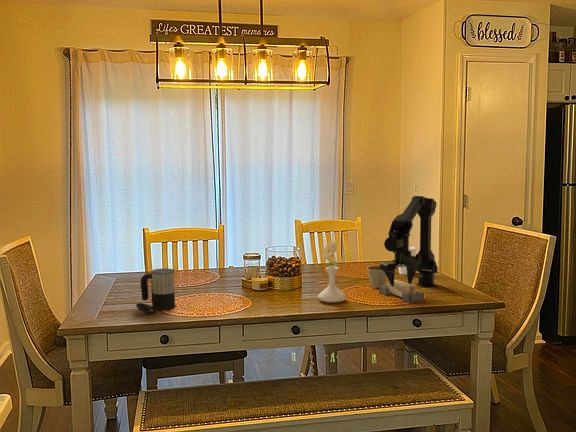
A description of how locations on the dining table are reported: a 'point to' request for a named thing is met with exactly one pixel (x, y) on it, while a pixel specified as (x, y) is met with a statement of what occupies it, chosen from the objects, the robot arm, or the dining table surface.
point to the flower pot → (376, 276)
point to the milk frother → (158, 290)
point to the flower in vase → (331, 277)
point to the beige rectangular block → (401, 288)
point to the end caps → (405, 295)
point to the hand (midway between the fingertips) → (401, 285)
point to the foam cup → (403, 269)
